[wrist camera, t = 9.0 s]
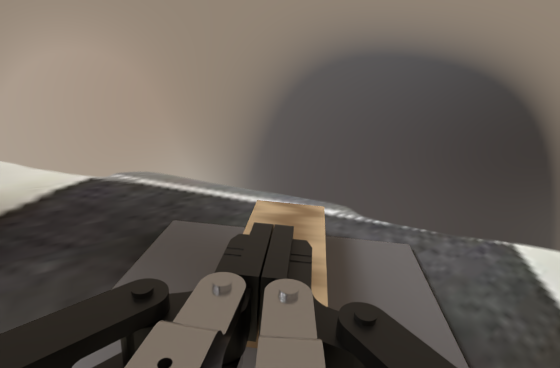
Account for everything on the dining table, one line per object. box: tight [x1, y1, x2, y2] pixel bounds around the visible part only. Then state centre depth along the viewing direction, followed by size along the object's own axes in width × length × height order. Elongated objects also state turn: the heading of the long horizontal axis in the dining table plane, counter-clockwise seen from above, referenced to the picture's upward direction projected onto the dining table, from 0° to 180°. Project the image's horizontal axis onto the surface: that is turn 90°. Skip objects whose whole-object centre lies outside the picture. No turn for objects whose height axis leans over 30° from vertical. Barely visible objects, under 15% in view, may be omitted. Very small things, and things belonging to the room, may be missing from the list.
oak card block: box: [243, 200, 328, 348], centre depth 26 cm, size 6×3×14 cm
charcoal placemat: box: [72, 220, 469, 368], centre depth 24 cm, size 22×20×1 cm
